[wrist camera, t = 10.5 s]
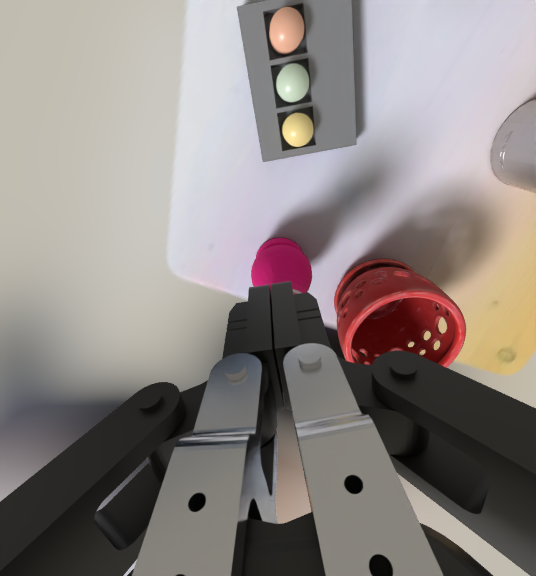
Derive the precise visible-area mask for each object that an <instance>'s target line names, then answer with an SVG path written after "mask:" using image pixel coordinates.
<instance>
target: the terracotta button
mask: <svg viewBox="0 0 536 576" xmlns="http://www.w3.org/2000/svg"><path fill="white" fill-rule="evenodd" d="M303 35H304V22H303V18H302V16H301V15H300V13H299V12H298V11H297V10H296V9H294V8H292V7H283V8H281V9H279V10H278V11H277V12H276V13H275V14H274V16H273V18H272V20H271V23H270V31H269V41H270V44H271V47H272V48H273V50H274V51H275V52H276V53H278V54H280V55H289V54H291V53H293V52H294V51H295V50H296V49H297V47H298V45H299V44H300V42H301V40H302V38H303Z"/></svg>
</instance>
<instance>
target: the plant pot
mask: <svg viewBox="0 0 536 576" xmlns="http://www.w3.org/2000/svg"><path fill="white" fill-rule="evenodd" d="M437 304H438V306H439V307H438V306H437ZM334 305H335V310H336V313H337V330H338V336H339V341H340V344H341V348H342V351H343V354H344V356H345V359H346V361H349V362H352V363H358V364H367V365H372V364H373V362H374V360H375V358H374V356H380V355H381V354H383V353H386V352H390V351H394V350H401V351H407V352H411V353H415V354H417V355H419V353H420V352H421V350H424V349H425V350H426V352H425V354H424V355H422V357H424V358H426V359H428V360H431V361H433V362H435V363H437V364H439V365H442V366H444V367H446V368H447V367H448V366H449V365H450V364H451V363H452V362H453V361H454V359H455V358H456V357H457V356H458V354H459V352H460V351H461V349H462V346H463V344H464V341H465V336H466V324H465V320H464V317H463V314H462V312H461V310H460V309H459V307H458V306H457V305H456V303H455V302H454V301H453V300H452V299H451V298H450V297H449V296H448V295H447V294H445V293H444V292H443V291H442V290H441V289H440V288H439V287H437V286H436V285H435V284H434V283H432V282H431V281H429V280H427V279H426V278H424V277H422V276H421V275H419V274H417V273H415V272H414V271H413V270H412V269H411V268H410V267H409V266H407V265H405V264H403V263H401V262H399V261H395V260H390V259H377V260H371V261H368V262H365V263H362V264H360V265H358V266H357V267H355V268H354V269H352V270H351V271H350V272H348V273H347V274H346V275H345V276H344V278H343V279H342V280H341V282H340V283H339V285H338V287H337V290H336V293H335V298H334ZM441 317H443V318H444V319H445V321H446V323H447V330H446V332H445V333H443V334H441V333H440V331H439V328H438V323H439V320H440V318H441ZM426 331H430V333H431V337H430V338H429V339H428V340H424V338H423V337H424V333H425V332H426ZM438 340H439V341H440V347H439V349H437V350H434V343H435V342H436V341H438ZM410 342H414V346H413V347H408V344H409V343H410ZM359 351H361V352H363V353H364V354H365V355H366V357H364V356H362V355H361V353H360V352H359ZM352 354H353V355H354V357H355V358H356V360H357V361H356V360H355V359H354V357H353V355H352ZM420 356H421V355H420Z"/></svg>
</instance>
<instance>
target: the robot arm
mask: <svg viewBox="0 0 536 576" xmlns="http://www.w3.org/2000/svg"><path fill="white" fill-rule="evenodd" d="M491 166H492V169H493V171H494V174H495V175H496V176H497V178H498V179H499V180H500V181H502V182H504V183H505V184H508V185H511V186H515V187H518V188H521V189H524V190H527V191H530V192H533V193H536V99H534V100H531V101H529V102H527V103H526V104H524V105H522V106H521V107H519V108H518V109H517V110H516V111H515V112H513V113H512V114H511V115H510V116H509V117H508V119H507V120H506V121H505V122H504V123H503V125H502V126H501V128H500V129H499V131H498V133H497V135H496V137H495V139H494V142H493V146H492V149H491ZM283 393H284V397H283ZM284 398H285V403H286V408H287V410H290V409H292V414H293V419H294V425H295V430H296V436H297V441H298V446H299V451H300V456H301V461H302V466H303V471H304V476H305V481H306V487H307V492H308V497H309V502H310V507H311V513H308V514H306V515H304V516H301V517H299V518H297V519H294V520H292V521H289V522H287V523H284V524H277V516H276V478H277V444H278V435H277V430H276V429H277V411H283V410H284ZM145 459H146V460H147V462H148V464H147V465H146V466H145V467H144V468H143V469H142V470H141V471H140V472H139V473H138V474H137V475H136V476H135V477H134V478H133V479H132V480H131V481H130V482H129V483H128V484H127V485H126V486H125V487H124V488H123V489H122V490H121V491H120V492H119V493H118V494H117V495H116V496H115V497H114V498H113V499H112V500H111V501H110V502H109V503H108V504H107V505H106V506H105V507H103V508H102V509H101V510H99V511H97V509H98V507H99V506H100V504H101V503H102V502H103V501H104V499H105V498H106V497H108V496H109V495H110V494H111V493H112V492H113V491H114V490H115V489H116V488H117V486H119V485H120V484H121V483H122V482H123V481H124V480H125V479H126V478H127V477H128V476H129V475H130V474H131V473H132V472H133V471H134V470H135V469H136V468H137V467H138V466H139V465H140V464H141V463H142V462H143V461H144V460H145ZM396 472H397V473H398V474H399V475H401V476H402V477H403V478H405V479H406V480H407V481H408V482H410V483H411V484H412V485H414V486H415V487H416V488H417V489H419V490H420V491H422V492H423V493H424V494H425V495H426V496H428V497H429V498H430V499H432V500H433V501H434V502H436V503H437V504H438V505H439V506H441V507H442V508H443V509H445V510H446V511H447V512H449V513H450V514H451V515H453V516H454V517H455V518H456V519H458V520H459V521H460V522H462V523H463V524H464V525H465V526H467V527H468V528H469V529H471V530H472V531H473V532H475V533H476V534H477V535H478V536H480V537H481V538H482V539H484V540H485V541H486V542H487V543H489V544H490V545H491V546H493V547H494V548H495V549H497V550H498V551H499V552H501V553H502V554H503V555H504V556H506V557H507V558H508V559H509V560H511V561H512V562H513V563H515V564H516V565H517V566H519V567H520V568H521V569H523V570H524V571H525V572H526V573H528V574H529V575H530V576H536V408H534V407H531V406H529V405H527V404H525V403H523V402H520V401H518V400H516V399H514V398H512V397H510V396H507V395H505V394H503V393H501V392H499V391H496V390H494V389H492V388H490V387H488V386H485V385H483V384H481V383H479V382H477V381H474V380H472V379H470V378H468V377H466V376H463V375H461V374H459V373H457V372H455V371H453V370H450V369H448V368H446V367H444V366H442V365H439V364H437V363H435V362H433V361H431V360H428V359H426V358H424V357H422V356H420V355H417V354H415V353H411V352H407V351H390V352H386V353H383V354H381V355H380V356H378V357H377V358H376V359H375V360H374V362H373V364H372V365H367V364H358V363H352V362H349V361H346V360H344V359H342V358H340V357H338V356H337V355H336V354H335V352H334V351H333V350H332V349H331V347H330V344H329V340H328V337H327V334H326V330H325V327H324V323H323V320H322V318H321V313H320V310H319V307H318V303H317V300H316V298H314V297H313V296H312V295H311V294H309V293H308V292H307V293H300V294H294V295H293V289H292V284H291V281H287V282H281V283H274V284H271V289H270V285H269V284H268V285H262V286H255V287H249V296H248V302H241V303H236V305H235V306H234V307H233V308H232V310H231V311H230V313H229V318H228V325H227V332H226V338H225V344H224V351H223V357H222V359H221V360H220V361H219V362H217V363H216V364H215V366H214V367H213V368H212V370H211V372H210V375H209V379H208V380H207V381H206V382H204V383H202V384H200V385H198V386H195V387H193V388H190V389H188V390H186V391H183V392H179V390H178V388H177V386H175V385H174V384H172V383H168V382H159V383H155V384H151V385H149V386H147V387H144V388H143V389H141V390H140V391H138V392H137V393H135V394H134V395H133V396H132V397H130V398H129V399H128V400H127V401H125V402H124V403H123V404H122V405H121V406H119V407H118V408H117V409H115V410H114V411H113V412H112V413H110V414H109V415H108V416H107V417H105V418H104V419H103V420H102V421H101V422H99V423H98V424H97V425H96V426H94V427H93V428H92V429H91V430H89V431H88V432H87V433H86V434H84V435H83V436H82V437H81V438H79V439H78V440H77V441H76V442H74V443H73V444H72V445H71V446H69V447H68V448H67V449H66V450H65V451H63V452H62V453H61V454H60V455H58V456H57V457H56V458H54V459H53V460H52V461H51V462H49V463H48V464H47V465H46V466H44V467H43V468H42V469H41V470H39V471H38V472H37V473H36V474H34V475H33V476H32V477H31V478H29V479H28V480H27V481H26V482H24V483H23V484H22V485H21V486H19V487H18V488H17V489H16V490H14V491H13V492H12V493H11V494H9V495H8V496H7V497H6V498H4V499H3V500H2V501H1V502H0V576H123V575H124V574H125V573H126V572H127V570H128V569H129V568H130V567H131V566H132V564H133V563H134V562H135V561H136V560H137V562H136V565H135V568H134V569H133V570H132V571H131V572H130V573H129V574H128V575H127V576H493V575H492V574H491V573H490V572H488V571H487V570H486V569H485V568H484V567H483V566H481V565H480V564H479V563H478V562H477V561H476V560H474V559H473V558H472V557H471V556H470V555H469V554H468V553H467V552H465V551H464V550H463V549H462V548H460V547H459V546H458V545H457V544H455V543H454V542H452V541H451V540H449V539H448V538H447V537H445V536H444V535H442V534H440V533H439V532H437V531H435V530H433V529H432V528H430V527H428V526H426V525H423V524H421V523H419V521H418V519H417V516H416V514H415V512H414V510H413V508H412V506H411V503H410V501H409V499H408V497H407V495H406V493H405V490H404V488H403V486H402V484H401V482H400V479H399V477H398V475H397V473H396ZM96 511H97V512H96ZM137 558H138V559H137Z"/></svg>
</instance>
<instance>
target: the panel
mask: <svg viewBox="0 0 536 576" xmlns="http://www.w3.org/2000/svg"><path fill="white" fill-rule="evenodd" d="M283 7H292V8H294V9H296V10H297V11H298V12H299V13H300V15H301V16H302V18H303V22H304V35H303V38H302V40H301V42H300V44H299V45H298V47H297V49H296V50H295V51H294V52H293V53H291V54H289V55H280V54H278V53H276V52H275V51H274V50H273V48H272V47H271V44H270V41H269V31H270V23H271V20H272V18H273V16H274V14H275V13H276V12H277V11H278V10H279V9H281V8H283ZM237 11H238V17H239V23H240V29H241V35H242V41H243V47H244V52H245V58H246V64H247V70H248V76H249V82H250V88H251V94H252V100H253V106H254V112H255V118H256V124H257V130H258V136H259V142H260V148H261V154H262V160H263V162H266V161H272V160H277V159H283V158H288V157H293V156H299V155H304V154H310V153H315V152H320V151H326V150H331V149H337V148H342V147H347V146H353V145H356V115H355V85H354V55H353V24H352V0H265V1H261V2H256V3H251V4H247V5H242V6H238V7H237ZM293 63H295V64H299V65H301V66H302V67H303V68H304V69H305V70H306V71H307V73H308V76H309V88H308V91H307V93H306V94H305V96H304V97H303V98H302V99H300V100H298V101H295V102H286V101H283V100H282V99H281V98H280V97H279V96H278V94H277V91H276V79H277V77H278V75H279V73H280V71H281V70H282V69H283V68H284V67H285V66H286V65H288V64H293ZM292 113H303V114H305V115H307V116H308V117H309V118H310V119H311V121H312V123H313V128H314V130H313V135H312V138H311V139H310V141H309V142H308V143H307V144H305V145H303V146H300V147H295V146H292V145H290V144H289V143H288V142H287V141H286V140H285V139H284V137H283V135H282V123H283V121H284V119H285V118H286V117H287V116H288V115H290V114H292Z"/></svg>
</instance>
